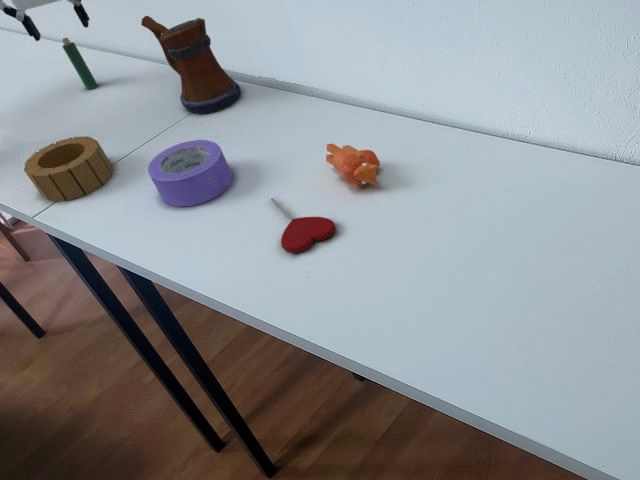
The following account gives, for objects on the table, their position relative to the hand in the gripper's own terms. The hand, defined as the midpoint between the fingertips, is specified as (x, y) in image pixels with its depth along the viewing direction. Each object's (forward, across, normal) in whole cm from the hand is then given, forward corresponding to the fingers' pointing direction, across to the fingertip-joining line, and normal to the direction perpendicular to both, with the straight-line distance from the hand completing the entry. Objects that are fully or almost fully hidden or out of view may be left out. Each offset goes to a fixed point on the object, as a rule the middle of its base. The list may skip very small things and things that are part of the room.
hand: (62, 31), depth 130 cm
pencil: (+11, 0, 0) cm, 11 cm away
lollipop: (+12, +32, -74) cm, 81 cm away
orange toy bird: (+12, +44, -67) cm, 81 cm away
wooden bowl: (+11, -2, -41) cm, 43 cm away
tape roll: (+12, +18, -55) cm, 59 cm away
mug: (+12, +22, -22) cm, 33 cm away
